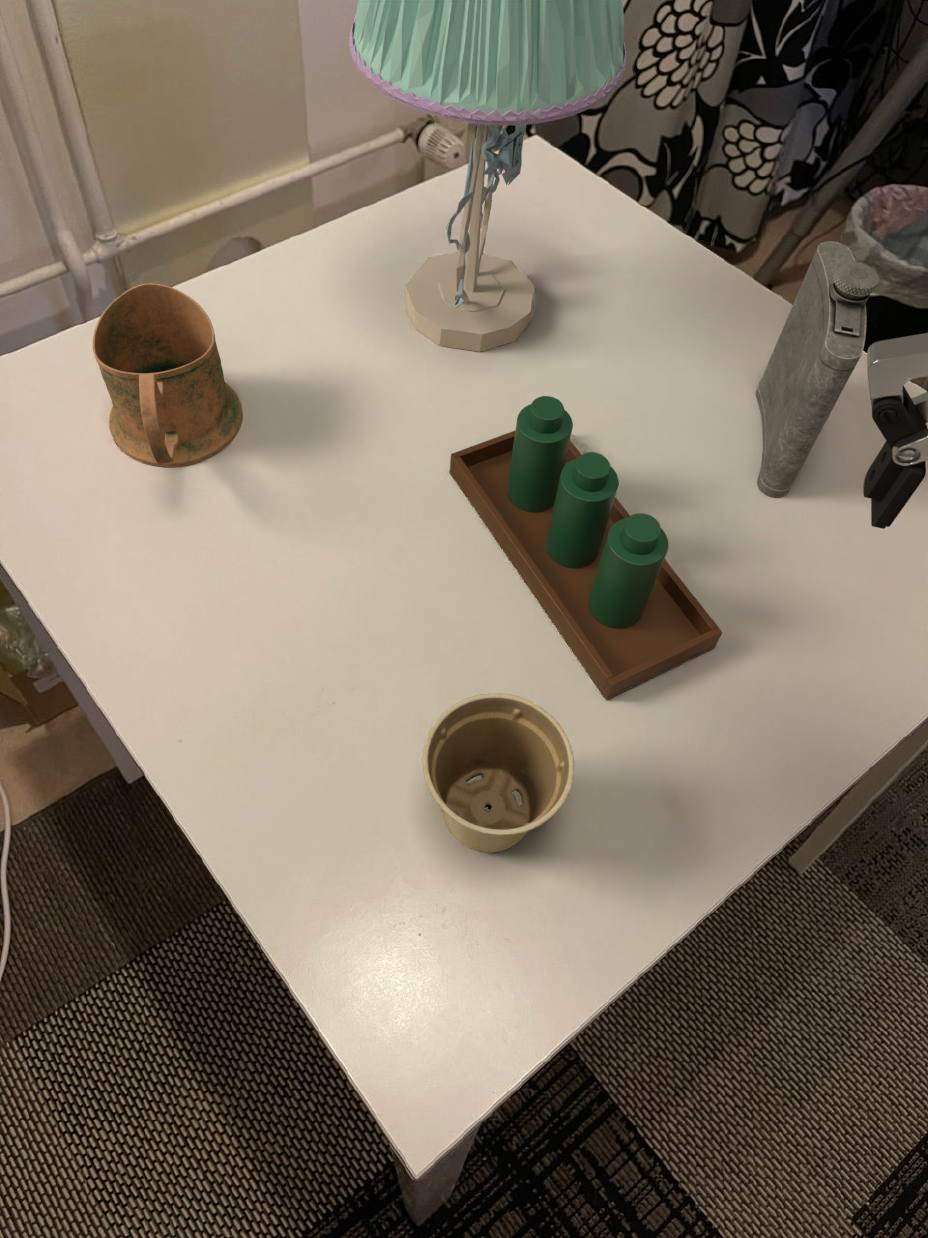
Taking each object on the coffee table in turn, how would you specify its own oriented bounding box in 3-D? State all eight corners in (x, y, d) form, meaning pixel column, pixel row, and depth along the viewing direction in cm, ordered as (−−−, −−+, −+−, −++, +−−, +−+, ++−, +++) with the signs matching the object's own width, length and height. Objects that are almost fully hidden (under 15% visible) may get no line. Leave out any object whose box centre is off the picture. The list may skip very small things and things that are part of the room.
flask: (793, 388, 89) (872, 220, 74) (798, 501, 81) (889, 338, 66) (755, 383, 89) (826, 213, 74) (757, 494, 81) (837, 331, 66)
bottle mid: (609, 556, 76) (634, 475, 67) (564, 576, 74) (584, 495, 66) (580, 519, 78) (601, 435, 69) (536, 537, 76) (552, 454, 68)
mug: (109, 529, 75) (63, 424, 65) (110, 379, 84) (70, 267, 74) (252, 512, 77) (229, 407, 67) (238, 367, 86) (215, 256, 76)
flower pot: (583, 810, 64) (605, 759, 57) (492, 907, 60) (504, 866, 53) (485, 724, 68) (494, 666, 60) (392, 811, 64) (390, 760, 56)
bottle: (653, 615, 73) (686, 538, 64) (607, 636, 72) (634, 561, 63) (623, 575, 75) (650, 495, 66) (577, 595, 74) (599, 515, 65)
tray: (714, 648, 72) (723, 632, 70) (606, 700, 69) (612, 685, 67) (548, 435, 84) (551, 416, 82) (449, 472, 81) (450, 453, 79)
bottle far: (567, 501, 79) (586, 417, 70) (523, 519, 77) (537, 435, 69) (541, 466, 81) (556, 380, 72) (497, 483, 79) (508, 397, 71)
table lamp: (556, 403, 86) (653, -115, 52) (333, 357, 88) (289, -173, 54) (592, 263, 97) (690, -235, 64) (394, 225, 99) (389, -280, 66)
